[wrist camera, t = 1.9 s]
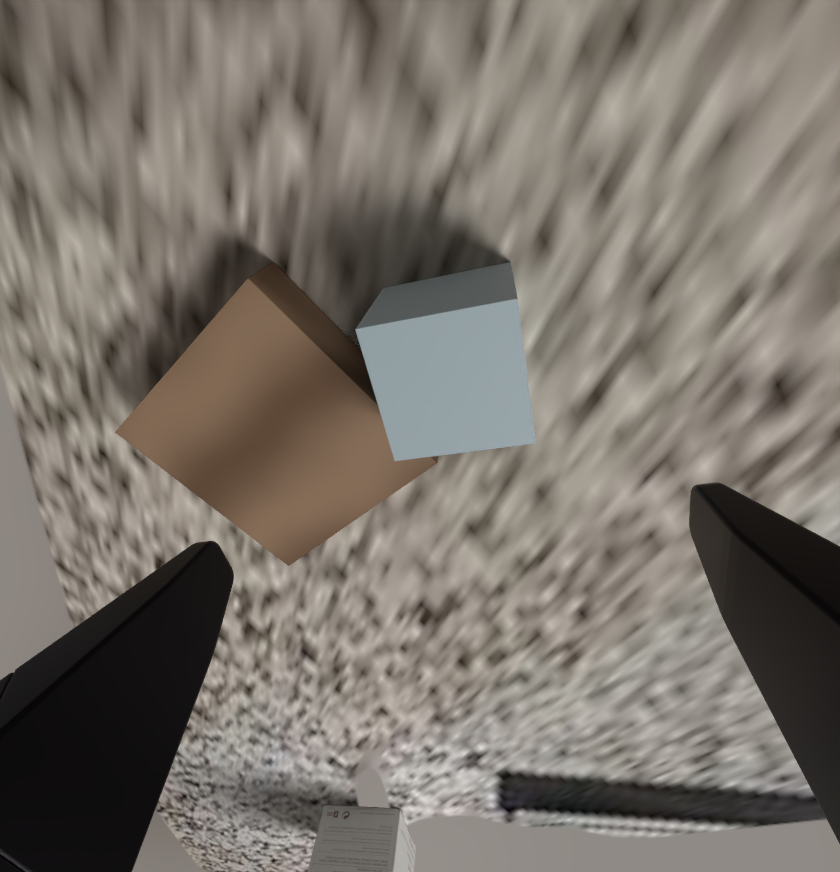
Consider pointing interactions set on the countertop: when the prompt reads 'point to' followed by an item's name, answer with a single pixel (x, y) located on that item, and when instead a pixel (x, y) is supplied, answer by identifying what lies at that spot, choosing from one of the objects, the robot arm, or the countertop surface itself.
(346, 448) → the board
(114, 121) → the countertop surface
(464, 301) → the block
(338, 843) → the supplement box
